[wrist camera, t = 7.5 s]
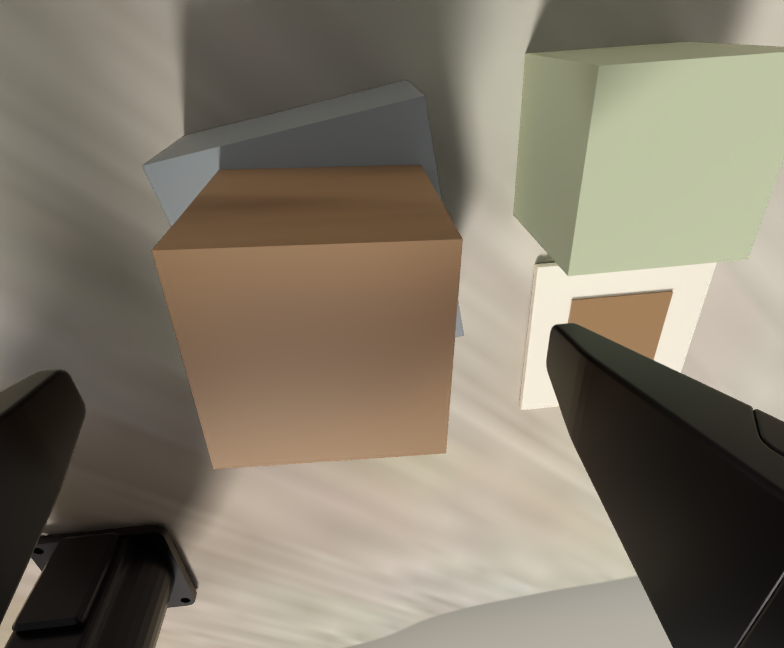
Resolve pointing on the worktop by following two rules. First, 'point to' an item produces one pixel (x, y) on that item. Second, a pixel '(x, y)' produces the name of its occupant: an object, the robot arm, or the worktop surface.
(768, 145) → the sage block
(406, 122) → the slate base block
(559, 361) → the robot arm
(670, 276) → the card
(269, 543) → the worktop surface
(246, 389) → the walnut block
